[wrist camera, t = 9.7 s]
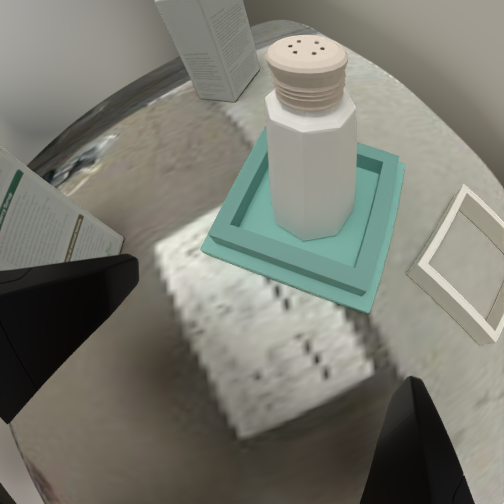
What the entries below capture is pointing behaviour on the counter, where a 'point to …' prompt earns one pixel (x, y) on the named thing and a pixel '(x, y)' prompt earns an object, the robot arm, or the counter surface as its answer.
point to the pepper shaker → (310, 136)
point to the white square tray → (441, 290)
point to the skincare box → (212, 44)
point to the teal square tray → (316, 250)
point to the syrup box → (45, 222)
